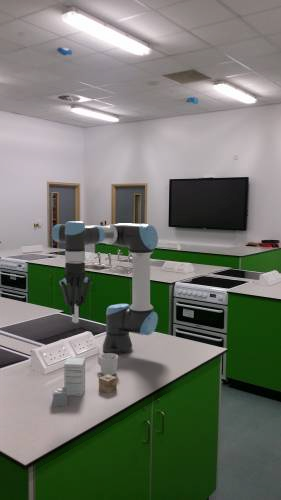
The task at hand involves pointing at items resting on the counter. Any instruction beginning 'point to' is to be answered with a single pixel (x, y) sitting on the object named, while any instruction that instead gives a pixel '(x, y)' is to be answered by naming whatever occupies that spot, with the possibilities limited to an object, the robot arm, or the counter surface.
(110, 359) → the cup
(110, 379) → the beige speckled cube
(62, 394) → the slate block
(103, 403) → the counter surface
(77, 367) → the miniature drawer cabinet
